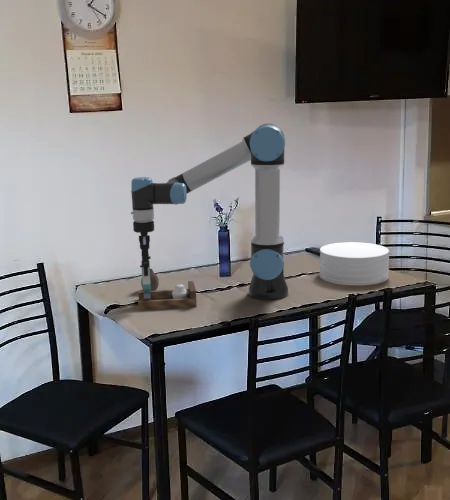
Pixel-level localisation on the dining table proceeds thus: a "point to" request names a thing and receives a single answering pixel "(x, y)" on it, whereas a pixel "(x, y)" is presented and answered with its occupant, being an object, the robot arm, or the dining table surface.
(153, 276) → the vase
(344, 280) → the plate stack
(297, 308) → the dining table surface
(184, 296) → the white rounded lump
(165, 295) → the wooden tray
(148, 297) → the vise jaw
